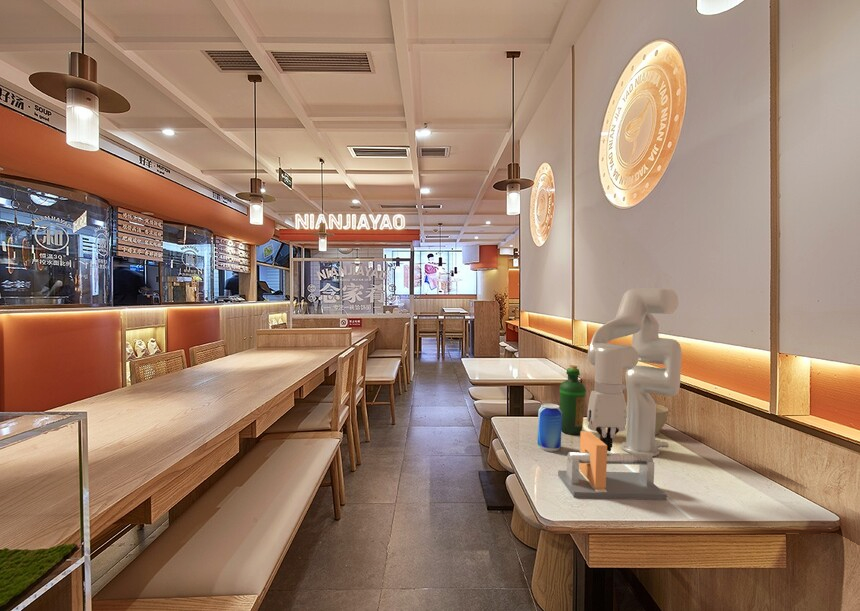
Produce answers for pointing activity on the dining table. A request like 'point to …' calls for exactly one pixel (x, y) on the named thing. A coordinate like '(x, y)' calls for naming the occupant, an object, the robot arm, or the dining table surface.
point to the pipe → (613, 458)
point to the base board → (613, 487)
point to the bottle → (572, 402)
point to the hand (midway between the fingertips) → (605, 449)
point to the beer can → (549, 427)
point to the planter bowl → (659, 417)
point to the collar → (594, 459)
